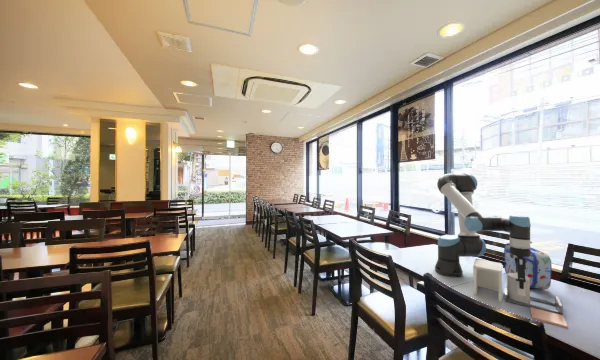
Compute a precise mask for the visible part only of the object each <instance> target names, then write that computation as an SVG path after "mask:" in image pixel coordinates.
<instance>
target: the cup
mask: <svg viewBox="0 0 600 360" xmlns="http://www.w3.org/2000/svg"><path fill="white" fill-rule="evenodd" d="M506 274H507V273H506ZM506 277H507V278H506V284H507V285H506V287H507V295H508V299H511V300H515V301H519V302H523V303H527V304H531V301H530V300H531V299H530V297H531V296H530V295H531V294H530V293H531V290H530V278H529V277H527V276H525V280H526V282H525V294H526V296H522V295H518V291H517V281H516V279H518V274H517V273H508V274H507V275H506ZM520 279H522V278H520Z"/></svg>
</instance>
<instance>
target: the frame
mask: <svg viewBox="0 0 600 360" xmlns="http://www.w3.org/2000/svg"><path fill="white" fill-rule="evenodd" d="M530 300H531V301H535V302H539V303H544V304H548V305H552V306H555V307H556V310H555V309H551V308H546V307H542V306H538V305H536V304H531V303H530V304H527V303H523V302H519V301H515V300H511V299H508V295H507V286H504V302H509V303H512V304H517V305H521V306H525V307H528V308H530V307H532V308H536V309H540V310H543V311H547V312H551V313H555V314H559V315H563V316H564V314H563V312H564V311H563V310H564V309H563V304H562V302H561V300H560V298H559V296H556V295H554V301H552V300H551V301H550V300H546V299H543V298H537V297H533V296H530Z"/></svg>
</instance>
